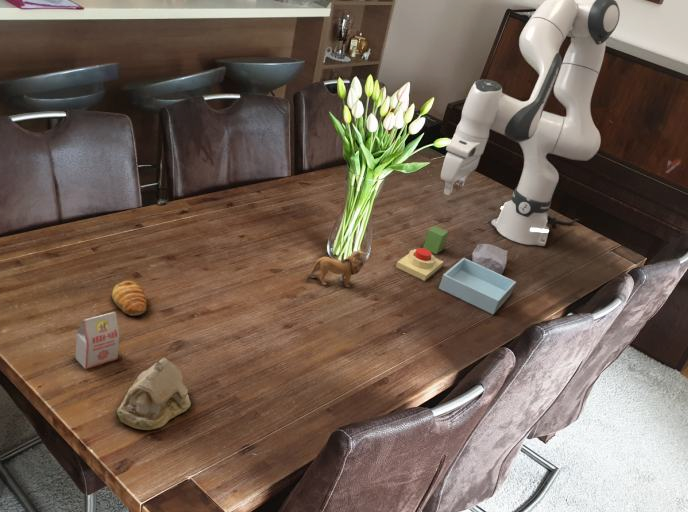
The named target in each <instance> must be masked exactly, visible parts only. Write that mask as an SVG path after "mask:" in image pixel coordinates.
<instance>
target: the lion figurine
mask: <svg viewBox="0 0 688 512" xmlns="http://www.w3.org/2000/svg"><path fill="white" fill-rule="evenodd" d="M366 256H367V254H366V253H365V252H363V250H355V251H352V254H351V255H348V256H347V258H345V259H342V260H341V259H334V258H331V257H329V256H322V257H320V258H319V259H317V260H316V262H315V263H314V265H313V267H312V269H311V271H310V273H309V275H308V276H307V277H306V278H305V280H307V281H308V280H310V279H311V278H312V279H315V278H316V275H315V273H316V272H318V271H320V276H319V279H320V282H321V285H322V286H327V285H328V284H327V281H325V277H326V275H328V272H329V271H330V272H331V273H332V274H335V275H340V277H339V280H340V282H343V283H344V286H345V287H346V288H350V283H349V282H350V280H351V277H352V276H354V275H357V274H359V273H360V271H361V270H362V269H363V268H364V265H365V264H366V262H367V259H366Z"/></svg>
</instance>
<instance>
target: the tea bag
mask: <svg viewBox="0 0 688 512" xmlns="http://www.w3.org/2000/svg"><path fill="white" fill-rule="evenodd" d="M75 337H76V338H75V360H76V361H77V362H78V363H79V364H80V365H81V366H82V367H83V368H84V369H85V370H87V369H90V368H94V367H97V366H100V365H104V364H107V363H110V362H113V361H116V360H118V358H119V344H120V330H119V324H118V317H117V312H116V311H112V312H108V313H105V314H104V313H103V314H100V315H97V316H93V317H89V318H86V319H85V318H84V319H82V320H81V323H80V325H79V328H78V329H77V331H76V335H75Z"/></svg>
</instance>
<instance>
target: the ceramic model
mask: <svg viewBox="0 0 688 512" xmlns="http://www.w3.org/2000/svg"><path fill="white" fill-rule="evenodd" d="M183 382H184V377H183V375H182V372H181V371H180V370H179V368H178V366H177V365H176V364H174V363H172V362H171V361H170V360H168V358H166V357H162V358H161V359H160V360H159V361H156V362H155V363H154V364H153V365H151V366H150V367H149V368H148V369H146V370H143V371H142V372H141V373H140V374H139V375H138V376H137V378H136V379H135V380H134V383H133V384H132V386H130V388H129V389H128V390H127V393H126V394H125V396H124V399H123V400H122V402H121V404H120V405H119V407H118V408H117V410H116V414H117V416H118V419H119V421H120V422H121V423H122V424H124V425H127V426H128V427H131V428H133V429H137V430H143V431H151V430H156V429H160V428H162V427H164V426H165V425H167V423H168V422H169V421H170V420H171V419H173V418H175V417H177V416H178V415H180V414H182V413H184V412H187V410H188V409H189V408H190V407H191V404H192V403H191V399H190V396H189V389H188V387H187V386H186V385H185V384H184V383H183Z"/></svg>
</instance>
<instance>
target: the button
mask: <svg viewBox="0 0 688 512" xmlns="http://www.w3.org/2000/svg"><path fill="white" fill-rule="evenodd" d="M415 249H416V252H415V257H416V258H418V259H420V260H423V261H429V260H430V258H431V255H433V252H430V251H429V250H427V249H425V248H423V247H417V248H415Z"/></svg>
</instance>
